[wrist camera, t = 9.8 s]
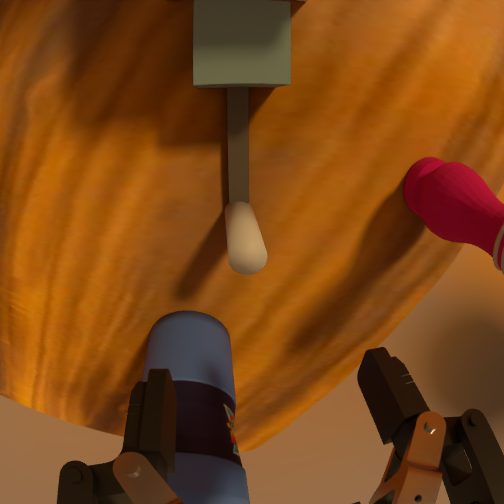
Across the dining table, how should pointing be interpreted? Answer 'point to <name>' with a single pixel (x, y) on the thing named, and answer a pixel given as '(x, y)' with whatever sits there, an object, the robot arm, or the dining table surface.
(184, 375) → the water bottle
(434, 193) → the pepper mill
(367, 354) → the robot arm
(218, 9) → the grey block with handle
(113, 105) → the dining table surface
